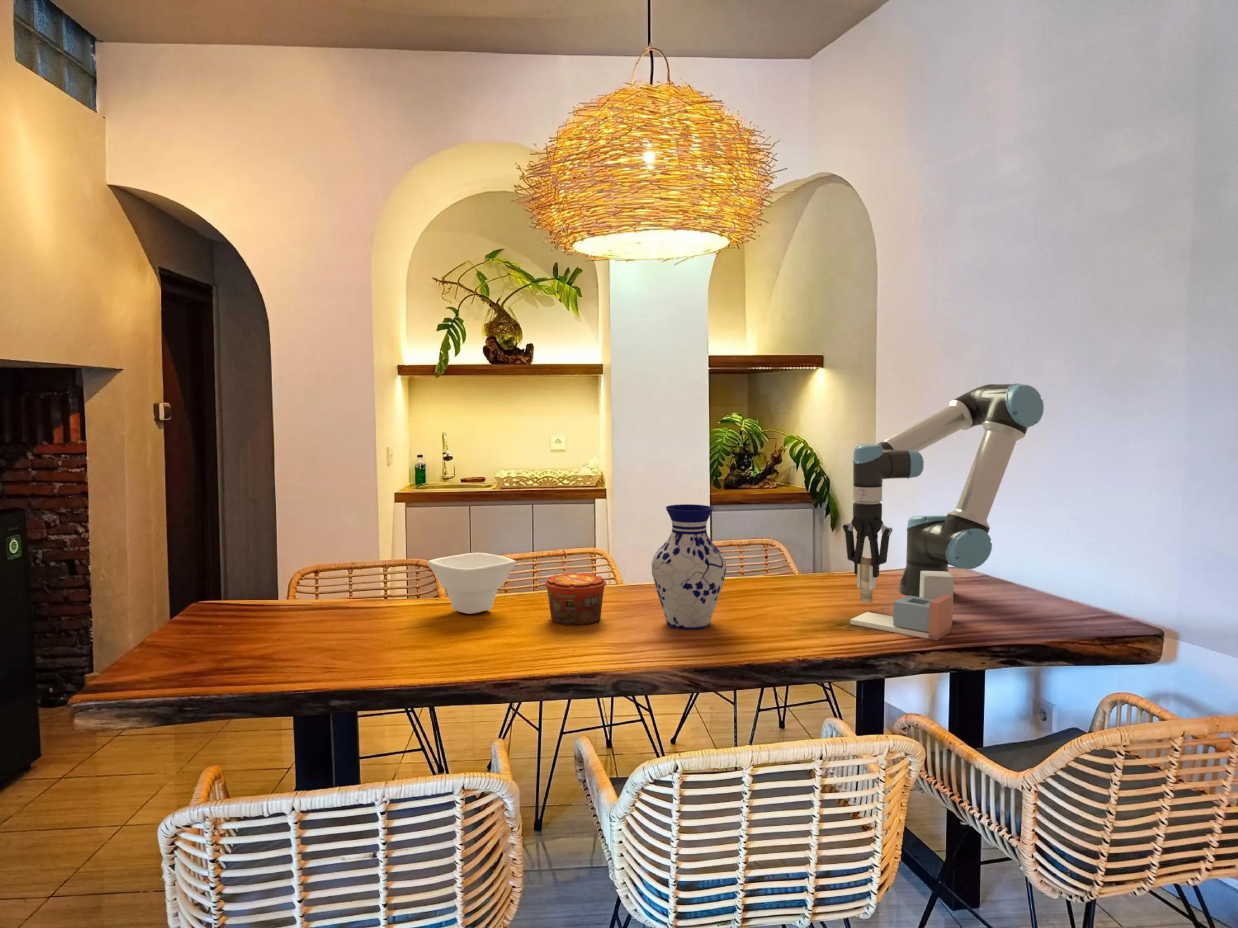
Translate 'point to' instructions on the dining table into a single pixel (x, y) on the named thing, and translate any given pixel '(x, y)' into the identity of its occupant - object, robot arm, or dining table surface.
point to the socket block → (912, 613)
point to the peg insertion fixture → (937, 628)
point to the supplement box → (936, 585)
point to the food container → (575, 598)
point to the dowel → (865, 581)
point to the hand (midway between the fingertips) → (866, 587)
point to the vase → (688, 569)
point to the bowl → (472, 579)
